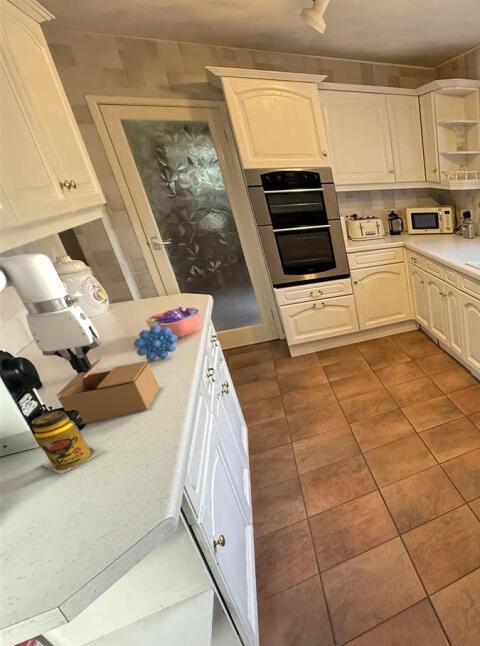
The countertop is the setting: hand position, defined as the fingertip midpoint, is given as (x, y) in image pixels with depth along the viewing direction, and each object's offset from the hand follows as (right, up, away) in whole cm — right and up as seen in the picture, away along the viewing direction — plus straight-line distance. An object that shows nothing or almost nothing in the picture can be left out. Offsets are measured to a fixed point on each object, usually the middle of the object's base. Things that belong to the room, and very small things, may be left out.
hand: (84, 370), depth 104 cm
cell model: (-19, +9, +53) cm, 57 cm away
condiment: (+13, -19, -14) cm, 27 cm away
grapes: (-9, +1, +34) cm, 36 cm away
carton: (+3, -10, +6) cm, 13 cm away
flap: (-1, -1, 0) cm, 2 cm away
